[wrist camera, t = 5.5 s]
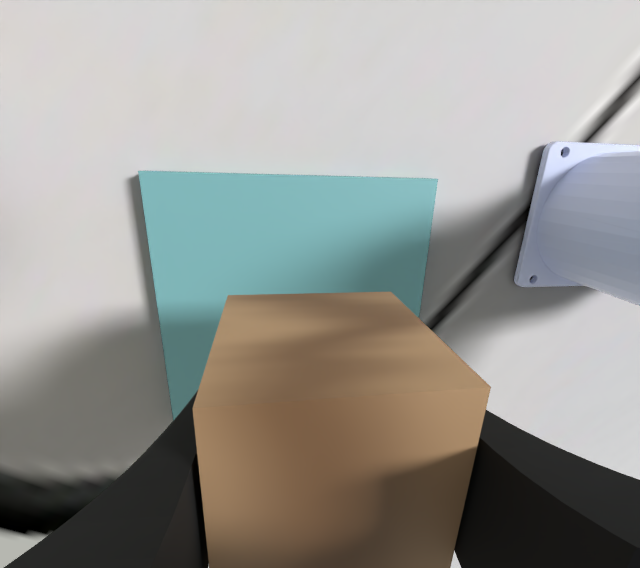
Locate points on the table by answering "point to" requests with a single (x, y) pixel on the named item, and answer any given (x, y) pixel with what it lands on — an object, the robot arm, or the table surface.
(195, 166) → the table surface
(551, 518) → the robot arm
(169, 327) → the teal board
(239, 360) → the walnut cube
